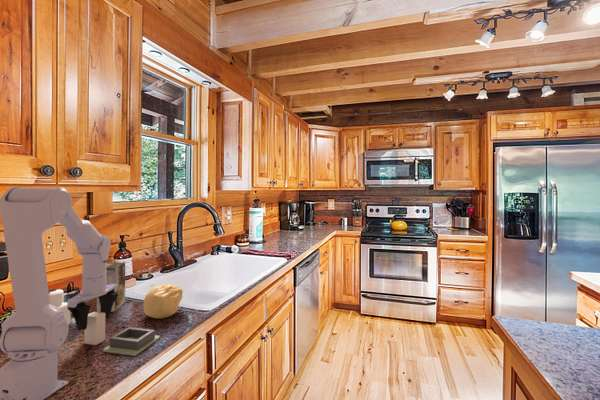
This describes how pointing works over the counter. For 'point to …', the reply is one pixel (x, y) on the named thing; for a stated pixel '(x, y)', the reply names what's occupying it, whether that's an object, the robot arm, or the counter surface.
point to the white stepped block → (60, 302)
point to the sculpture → (162, 301)
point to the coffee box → (115, 276)
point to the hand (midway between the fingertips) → (94, 322)
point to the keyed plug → (95, 328)
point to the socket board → (131, 341)
